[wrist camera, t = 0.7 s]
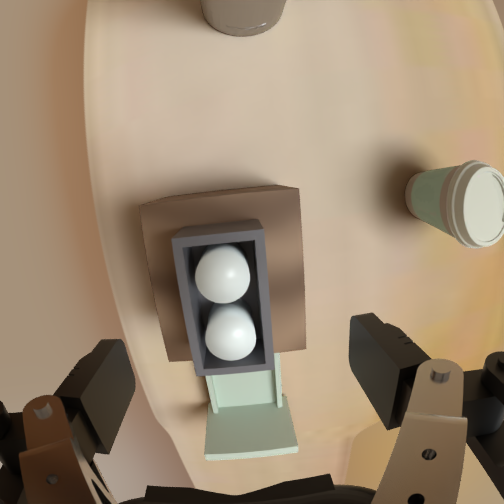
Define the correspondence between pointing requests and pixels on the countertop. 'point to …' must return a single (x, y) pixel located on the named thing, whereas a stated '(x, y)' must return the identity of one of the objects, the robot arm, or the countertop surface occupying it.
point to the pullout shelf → (248, 416)
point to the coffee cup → (460, 202)
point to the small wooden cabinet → (219, 211)
